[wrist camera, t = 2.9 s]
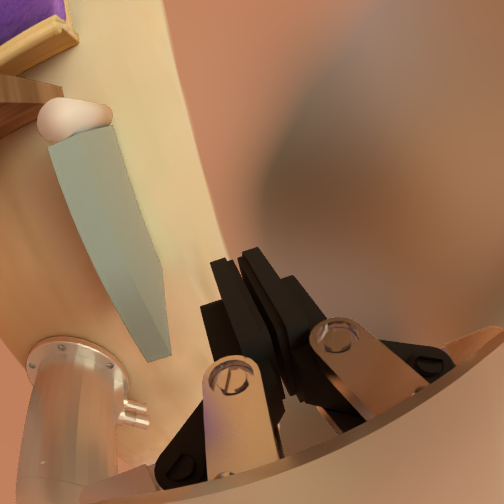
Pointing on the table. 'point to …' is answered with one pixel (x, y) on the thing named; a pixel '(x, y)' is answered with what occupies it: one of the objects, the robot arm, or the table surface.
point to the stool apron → (22, 101)
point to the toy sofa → (33, 33)
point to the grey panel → (108, 217)
